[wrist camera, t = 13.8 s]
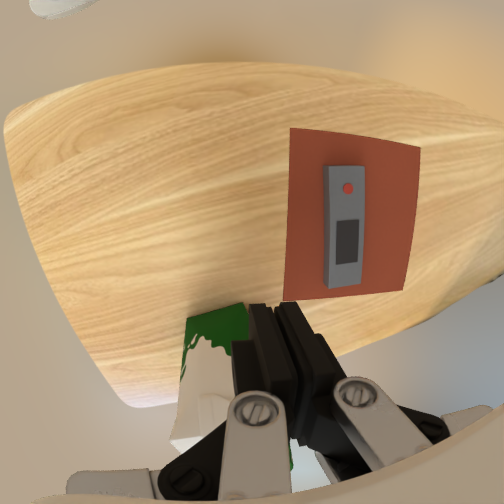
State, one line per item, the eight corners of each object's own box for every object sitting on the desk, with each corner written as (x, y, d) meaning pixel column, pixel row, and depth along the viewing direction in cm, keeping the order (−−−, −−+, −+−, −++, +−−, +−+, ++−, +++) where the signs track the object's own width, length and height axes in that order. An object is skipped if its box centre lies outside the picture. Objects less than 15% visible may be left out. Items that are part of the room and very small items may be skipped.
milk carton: (266, 348, 36) (306, 481, 17) (201, 366, 35) (203, 500, 17) (247, 292, 33) (287, 436, 14) (175, 313, 33) (152, 460, 14)
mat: (289, 128, 28) (290, 127, 28) (419, 147, 30) (420, 147, 30) (282, 300, 34) (282, 301, 34) (402, 289, 36) (402, 290, 36)
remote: (322, 165, 29) (329, 165, 27) (357, 165, 30) (365, 165, 28) (323, 282, 34) (328, 289, 32) (354, 278, 34) (361, 284, 32)
